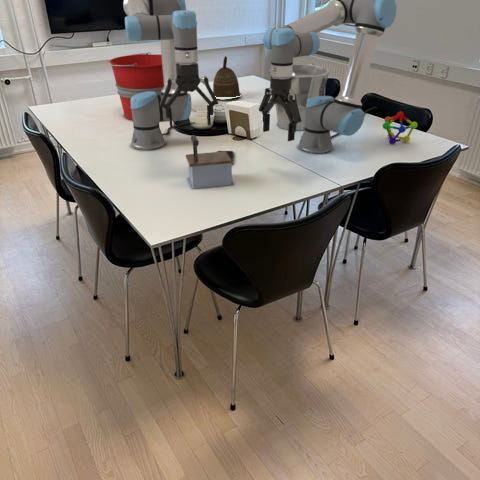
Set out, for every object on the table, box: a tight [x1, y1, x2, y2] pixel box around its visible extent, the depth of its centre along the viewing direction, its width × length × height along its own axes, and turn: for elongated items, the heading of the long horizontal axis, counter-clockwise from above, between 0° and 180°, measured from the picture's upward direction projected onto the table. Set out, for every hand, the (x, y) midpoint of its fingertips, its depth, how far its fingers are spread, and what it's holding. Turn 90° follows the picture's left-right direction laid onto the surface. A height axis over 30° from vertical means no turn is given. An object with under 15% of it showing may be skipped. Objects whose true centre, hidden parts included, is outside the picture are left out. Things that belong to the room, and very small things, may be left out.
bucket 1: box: [106, 51, 164, 121], centre depth 240 cm, size 35×35×30 cm
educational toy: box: [382, 110, 418, 145], centre depth 207 cm, size 16×13×15 cm
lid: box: [185, 134, 233, 167], centre depth 165 cm, size 16×10×9 cm, turn 104°
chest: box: [188, 162, 233, 190], centre depth 170 cm, size 15×10×9 cm, turn 104°
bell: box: [212, 56, 242, 97], centre depth 278 cm, size 19×26×20 cm
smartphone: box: [216, 150, 234, 163], centre depth 192 cm, size 7×1×15 cm
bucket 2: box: [269, 63, 330, 131], centre depth 226 cm, size 30×30×28 cm
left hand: (190, 125), depth 159 cm, fingers open, 13 cm apart
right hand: (278, 135), depth 167 cm, fingers open, 13 cm apart
